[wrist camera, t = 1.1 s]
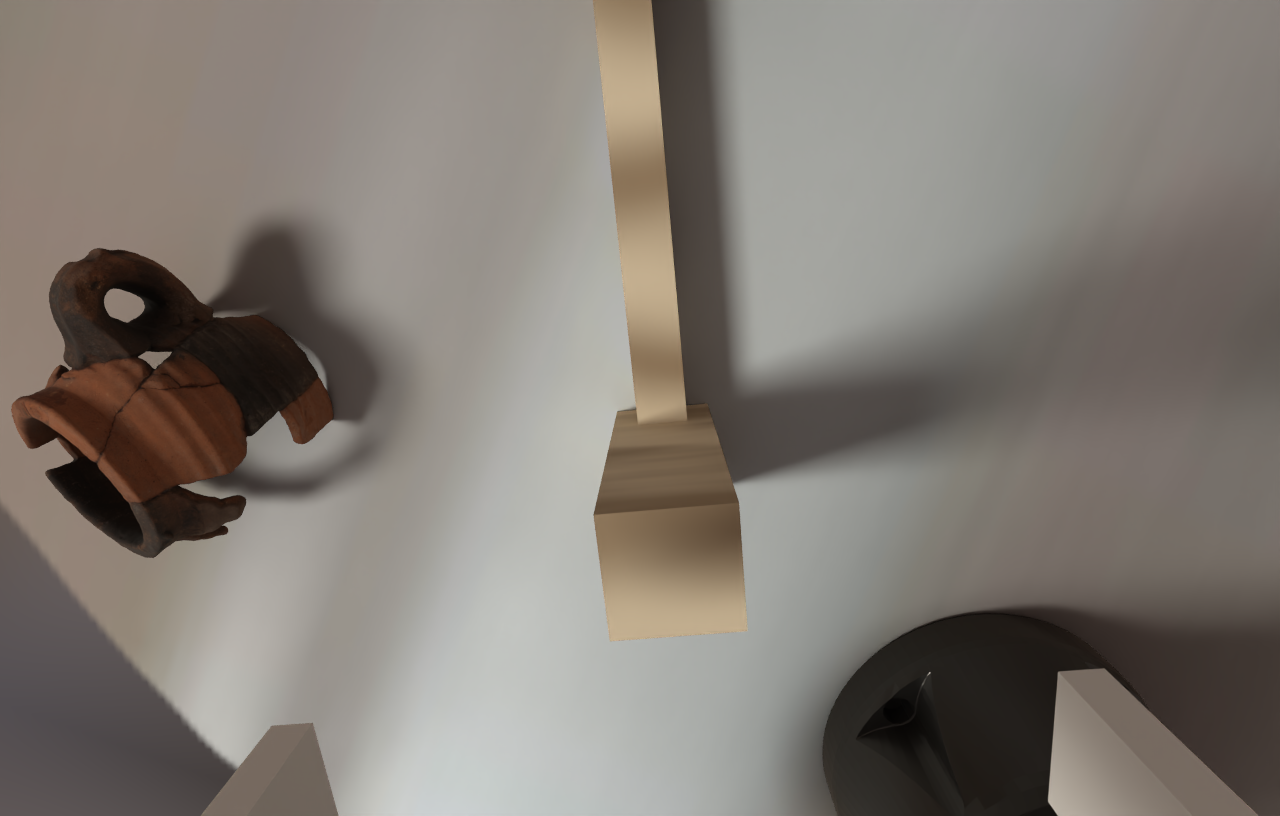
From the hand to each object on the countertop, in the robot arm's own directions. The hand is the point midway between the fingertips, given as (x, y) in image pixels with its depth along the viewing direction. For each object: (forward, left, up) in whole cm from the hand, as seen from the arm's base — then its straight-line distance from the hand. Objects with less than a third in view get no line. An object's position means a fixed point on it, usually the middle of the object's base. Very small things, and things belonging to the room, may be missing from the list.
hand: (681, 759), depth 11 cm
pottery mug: (+5, +20, -18) cm, 27 cm away
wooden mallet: (+9, 0, -18) cm, 20 cm away
